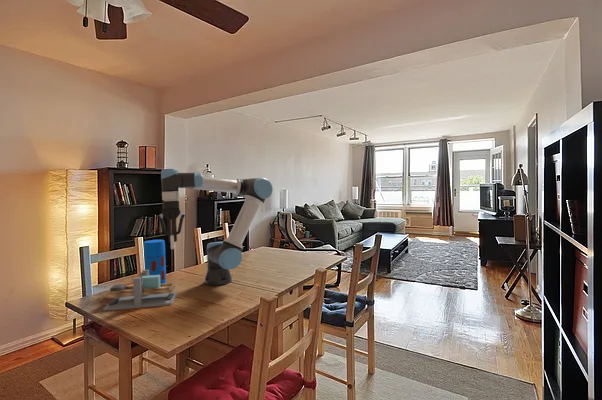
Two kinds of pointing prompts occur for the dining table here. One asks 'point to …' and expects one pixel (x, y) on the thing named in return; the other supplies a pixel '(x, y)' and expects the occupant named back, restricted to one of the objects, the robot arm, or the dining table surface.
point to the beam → (126, 291)
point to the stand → (140, 298)
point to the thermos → (155, 258)
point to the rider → (151, 281)
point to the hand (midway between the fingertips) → (173, 248)
